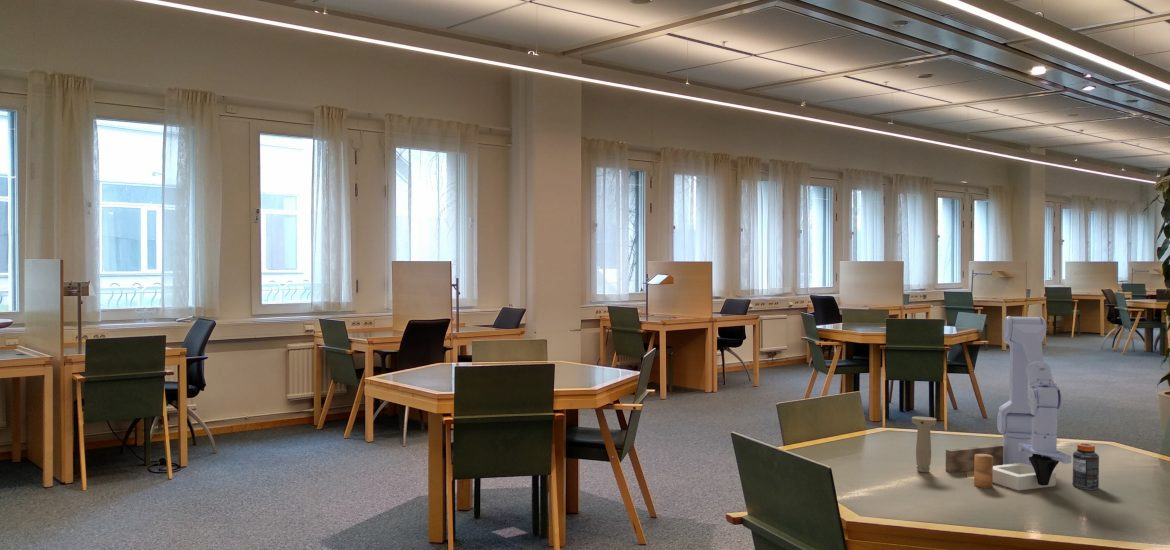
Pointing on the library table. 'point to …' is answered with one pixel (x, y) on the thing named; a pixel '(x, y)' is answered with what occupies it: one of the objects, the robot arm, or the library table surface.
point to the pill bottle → (1085, 467)
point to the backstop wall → (971, 457)
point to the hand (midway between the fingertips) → (1043, 484)
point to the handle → (923, 442)
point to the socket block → (1018, 476)
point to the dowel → (983, 471)
